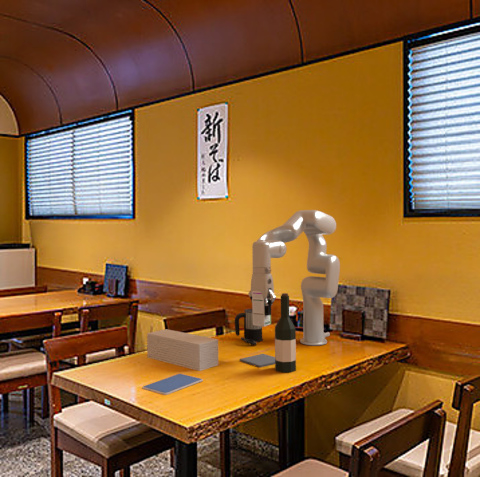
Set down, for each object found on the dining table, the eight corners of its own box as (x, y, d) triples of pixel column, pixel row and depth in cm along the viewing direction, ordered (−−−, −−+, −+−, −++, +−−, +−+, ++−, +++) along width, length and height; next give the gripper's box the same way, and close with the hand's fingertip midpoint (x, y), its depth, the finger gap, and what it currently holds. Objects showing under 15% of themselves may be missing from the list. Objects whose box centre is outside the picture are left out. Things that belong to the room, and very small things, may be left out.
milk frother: (258, 337, 259) (258, 308, 259) (272, 344, 245) (272, 313, 244) (232, 340, 254) (231, 310, 253) (245, 347, 239) (244, 315, 239)
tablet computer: (165, 397, 175) (165, 393, 175) (140, 389, 183) (140, 386, 183) (204, 382, 191) (204, 378, 191) (179, 376, 198) (179, 372, 198)
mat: (262, 355, 225) (262, 353, 225) (283, 361, 215) (283, 359, 215) (239, 360, 217) (239, 358, 217) (260, 367, 207) (260, 365, 207)
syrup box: (264, 326, 211) (264, 291, 211) (252, 325, 215) (251, 290, 214) (271, 324, 216) (271, 289, 216) (259, 323, 219) (259, 288, 219)
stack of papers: (147, 357, 224) (147, 333, 224) (166, 352, 232) (165, 329, 232) (199, 371, 203) (199, 344, 203) (218, 365, 211) (218, 339, 211)
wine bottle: (298, 367, 206) (297, 292, 205) (293, 373, 198) (292, 295, 197) (277, 365, 209) (277, 291, 208) (272, 371, 201) (271, 294, 200)
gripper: (282, 272, 210) (282, 315, 211) (254, 269, 224) (255, 310, 224) (269, 273, 206) (269, 317, 206) (241, 270, 219) (241, 312, 220)
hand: (261, 313), depth 215 cm, fingers closed on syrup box, 6 cm apart
